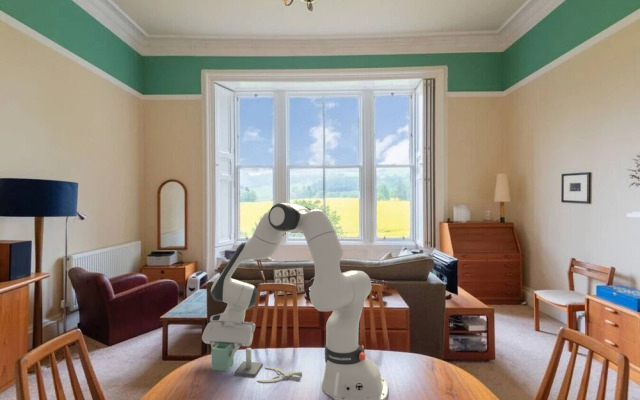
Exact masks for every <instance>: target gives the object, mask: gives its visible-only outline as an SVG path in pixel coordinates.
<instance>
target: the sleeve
mask: <svg viewBox="0 0 640 400" xmlns="http://www.w3.org/2000/svg"><path fill="white" fill-rule="evenodd" d="M233 349H234V345H233V343H226V342H218V343H217V344H216V345H215V346H214V347H213V348H211V351H212V355H211V371H219V372H220V371H222V372H227V371H228V370H229V369H230V368H231V367H232V365H233V364H234V357H230V356H229V353H230V351H232V350H233Z"/></svg>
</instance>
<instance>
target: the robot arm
mask: <svg viewBox="0 0 640 400" xmlns="http://www.w3.org/2000/svg"><path fill="white" fill-rule="evenodd" d="M285 233H291V234H303V235H304V239H305V241H306V243H307V246H308V249H309V251H310V252H309V253H310V255H311V257H312V262H313V265H314V278H313V282H312V284H311V286H310V289H309V299H310V302H311V304H312V306H313V307H314V308H315V309H316V310H317V311H318V312H332V313H331V314H330V316H329V317H328V319H327V321H326V325H325V331H326V332H325V337H326V338H325V339H326V340H325V346H324V362H325V365H324V366H325V368H324V375H323V380H322V383H321V389H322V390H323V392H324V393H325V394H326V395H328V396H330V397H331V398H333V400H387V398H388V396H389V385H388V382H387V380H386V379H385V378H384V376H381V372H380V369H379V366H378V365H377V364H376V363H374V362H373V361H372V360H371V359H369V358H367V357H366V353H365V348H364V345H363V344H362V345H360V344H359V332H360V331H359V328H360V327H359V324H360V320H361V315H362V311H363V308H364V305H365V302H366V300H367V298H368V296H369V295H370V293H371V291H372V288H373V287H372V281H371V278H370V276H369V275H368V273H366V272H365V271H362V270H352V269H351V270H348V271H344V272H342V270H341V259H342V258H343V256H344V249H343V247H342V245H341V242H340V239H339V238H338V235H337V232H336V230H335V227H334V225H333V224H332V222H331V220H330V219H329V216H328V215H327V214H326V212H325V211H324V210H321V209H317V208H315V209H311V208H310V207H307V206H304V205H299V204H297V203H288V202H279V203H276V204H274V205H272V206H271V208H270V210H269V211H267V212H265V213H264V214H263V215H262V217H261V219H260V221H259V222H258V223H257V226H256V228H255V229H254V232H253V234H252V236H251V237H250V238H249V239H248V240H247V241H244V242H241V244H239V245H238V246H237V248H236V249H235V251H234V252H233V254H232V255H231V257H230V259H229V260H228V262H227V264H225V266H224V267H223V270H222V271H221V272H220V274H219V276H218V277H217V278H216V279H215V280H214V281H213V283H212V285H211V287H210V288H211V289H210V295H211V297H212V299H213V300H214V301H216V302H220V303H223V302H224V303H226V304H227V305H226V308H225V309H224V311H223V312H221V313H218V314H214V315H211V316H210V319H209V321H210V322H208V323H207V324H206V326H205V328H204V330H203V333H202V335H201V340H202V342H204V343H205V344H207V345H208V344H209V345H210V347H211V349H212V348H213V347H214V346H215V345H216V344H217V343H218V342H226V343H233V350H232V351H230V353H229V356H230V357H233V358H234V357H235V354H236V353H237V351H238V350H239V349H240V347H250V346H251V345H252V343H253V339H254V332H255V330H256V324H255V323H254V322H253V321H245V317H246V311H247V310H250V309H251V308H252V307H254V306H255V305H256V301H257V297H258V293H259V292H258V289H257V287H256V286H255V285H253V284H251V283H248V282H246V281H245V282H244V281H241V280H238V279H235V278H232V277H233V274H234V273H235V271H236V270H237V268H238V267H239V265H240V264H241V263H243V262H245V261H246V262H247V261H249V260H250V261H253V260H254V261H256V260H257V261H259V260H260V261H261V260H265V259H269V258H270V257H272V256H274V254H275V253H276V251H277V249H278V248H279V245H280V243H281V240H282V238H283V236H284V234H285ZM210 356H212V350H211V352H210Z"/></svg>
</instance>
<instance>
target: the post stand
mask: <svg viewBox="0 0 640 400" xmlns="http://www.w3.org/2000/svg"><path fill="white" fill-rule="evenodd" d="M263 366H264V365H263V362H258V361H257V362H256V361H252V348H251V347H247V348H245V361H242V362H241V363H240V365H239V366H238V367H237V368H236V370H235V371H234V376H242V377H254V378H255V377H256V376H257V375H258V373H259V372H260V370H261V369H262V367H263Z"/></svg>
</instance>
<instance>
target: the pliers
mask: <svg viewBox="0 0 640 400" xmlns="http://www.w3.org/2000/svg"><path fill="white" fill-rule="evenodd" d="M264 369H265V370H272V371H275V373H276V375H275V376H274V377H272V378H270V379H262V380H261V379H257V380H256V383H264V384H267V383H269V384H271V383H277V382H281V381H282V380H287V379H288V380H295V381H301V379H302V378H301V377H302V376H303V371H292V370H291V371H288V372H287V371H285V370H284V369H282V368H278V367H273V366H272V367H271V366H265V367H264ZM281 374H282V375H281Z"/></svg>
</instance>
